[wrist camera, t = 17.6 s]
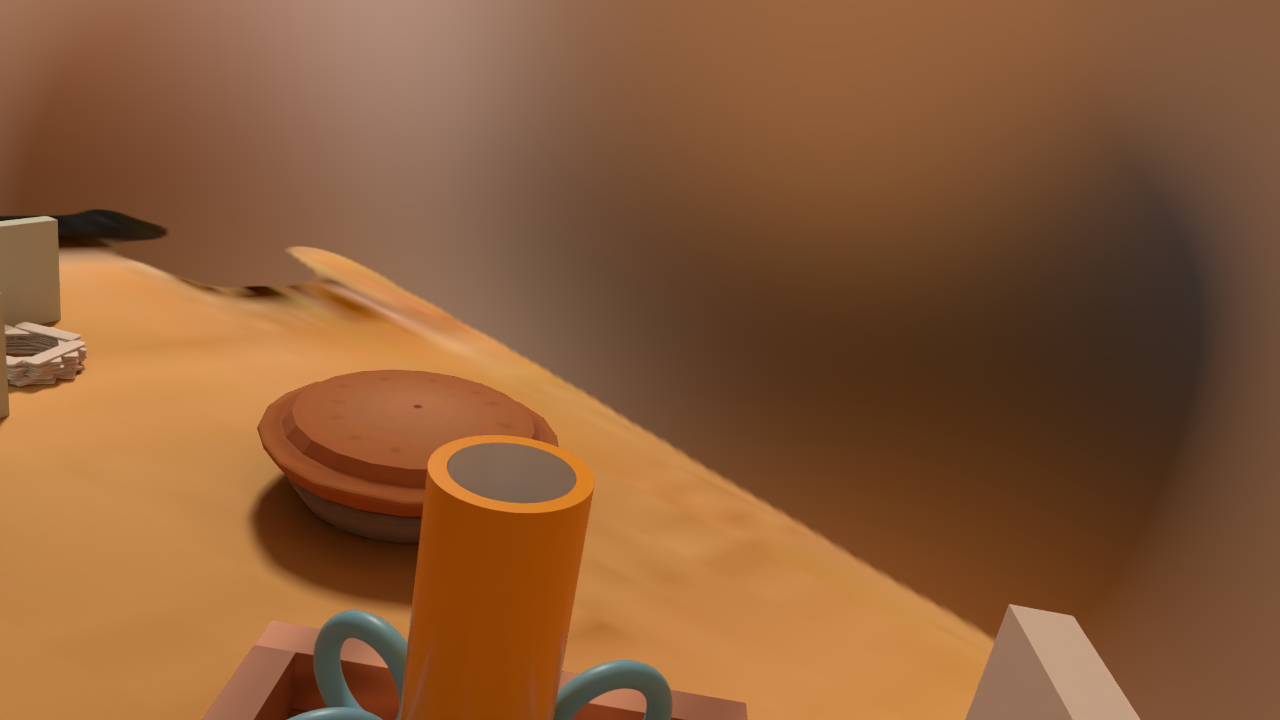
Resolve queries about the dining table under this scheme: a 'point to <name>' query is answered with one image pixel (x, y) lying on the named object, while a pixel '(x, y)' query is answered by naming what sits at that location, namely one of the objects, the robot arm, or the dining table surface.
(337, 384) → the pie
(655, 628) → the dining table surface
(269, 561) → the dining table surface
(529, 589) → the orange post with rings
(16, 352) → the right angle wall
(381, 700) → the rail frame
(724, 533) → the dining table surface
